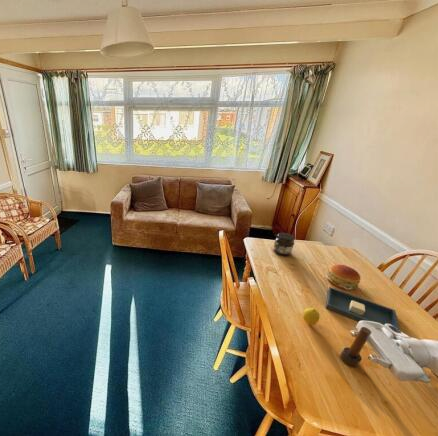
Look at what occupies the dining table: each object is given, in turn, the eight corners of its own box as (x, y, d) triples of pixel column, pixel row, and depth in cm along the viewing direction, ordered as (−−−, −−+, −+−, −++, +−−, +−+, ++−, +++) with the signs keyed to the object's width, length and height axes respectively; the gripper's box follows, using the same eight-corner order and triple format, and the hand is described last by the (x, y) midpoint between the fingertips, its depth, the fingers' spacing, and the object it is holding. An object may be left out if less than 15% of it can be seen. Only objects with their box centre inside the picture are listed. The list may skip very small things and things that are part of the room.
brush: (356, 357, 84) (374, 327, 78) (359, 370, 80) (378, 339, 74) (338, 351, 87) (354, 321, 80) (341, 362, 83) (358, 332, 76)
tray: (392, 315, 102) (395, 310, 101) (396, 338, 92) (400, 332, 90) (327, 291, 115) (329, 286, 114) (325, 309, 105) (327, 304, 104)
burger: (329, 288, 117) (336, 273, 113) (320, 272, 129) (326, 258, 124) (361, 294, 113) (369, 279, 109) (349, 277, 125) (356, 262, 120)
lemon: (300, 315, 102) (305, 302, 98) (315, 321, 99) (321, 307, 96) (300, 324, 98) (306, 311, 94) (316, 330, 95) (322, 316, 92)
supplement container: (276, 246, 154) (280, 230, 149) (293, 252, 147) (298, 236, 142) (269, 251, 148) (273, 235, 143) (286, 258, 141) (292, 242, 136)
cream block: (362, 309, 104) (364, 304, 103) (362, 315, 101) (365, 310, 100) (349, 304, 107) (351, 300, 105) (349, 310, 103) (351, 305, 102)
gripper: (430, 389, 69) (379, 382, 71) (379, 331, 88) (339, 327, 90) (441, 377, 67) (388, 369, 69) (386, 320, 85) (345, 315, 87)
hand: (360, 345), depth 79 cm, fingers open, 8 cm apart
